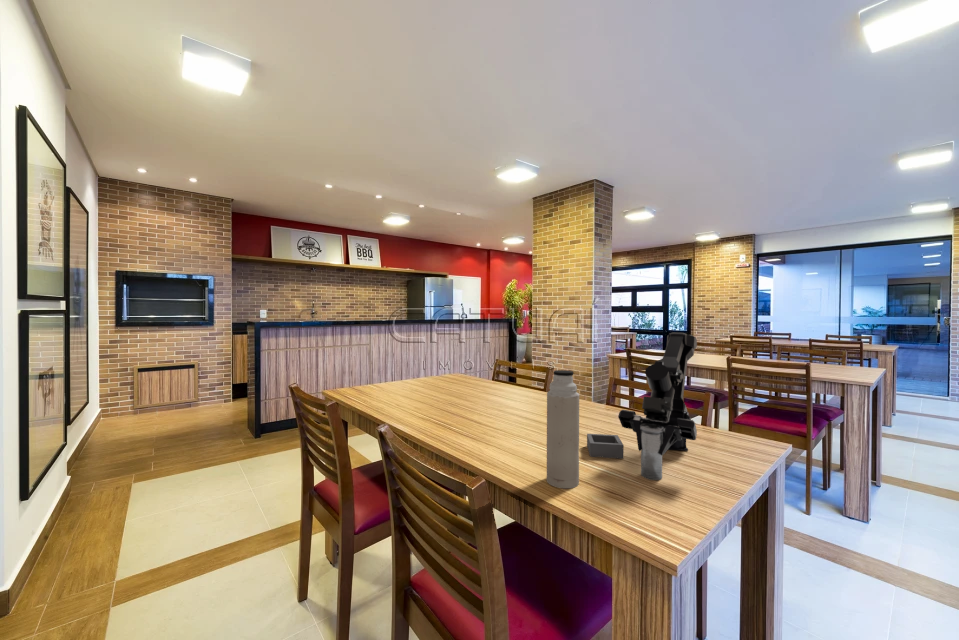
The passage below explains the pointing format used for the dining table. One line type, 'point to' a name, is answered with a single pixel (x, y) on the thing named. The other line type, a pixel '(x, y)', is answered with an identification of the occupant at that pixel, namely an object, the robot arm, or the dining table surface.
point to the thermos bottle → (563, 431)
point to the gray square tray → (605, 446)
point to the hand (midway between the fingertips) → (650, 452)
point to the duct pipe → (651, 451)
